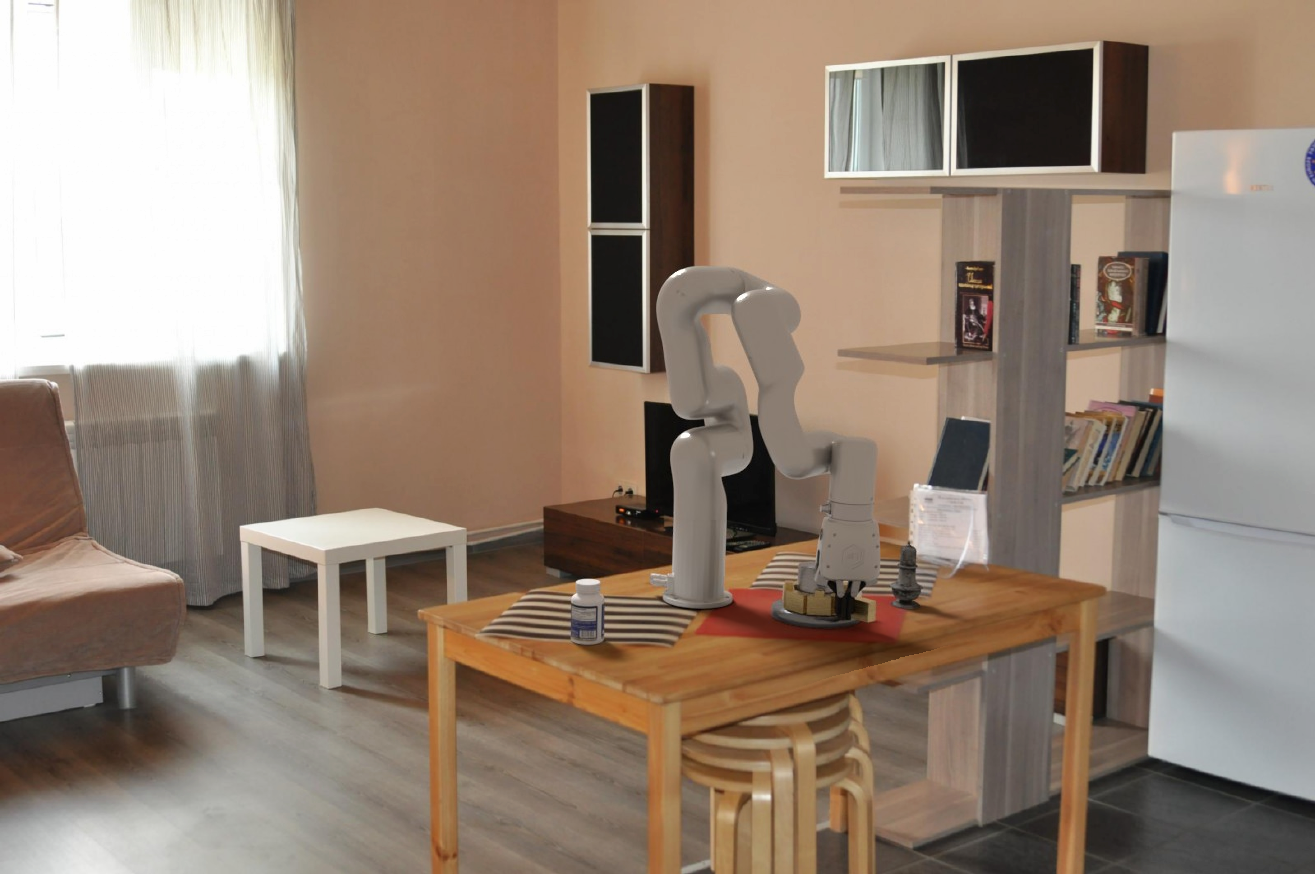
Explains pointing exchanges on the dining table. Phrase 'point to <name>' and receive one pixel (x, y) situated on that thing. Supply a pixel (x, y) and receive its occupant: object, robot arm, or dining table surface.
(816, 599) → the ring nut
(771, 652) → the dining table surface
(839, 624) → the spindle base
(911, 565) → the salt shaker
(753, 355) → the robot arm
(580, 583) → the pill bottle
